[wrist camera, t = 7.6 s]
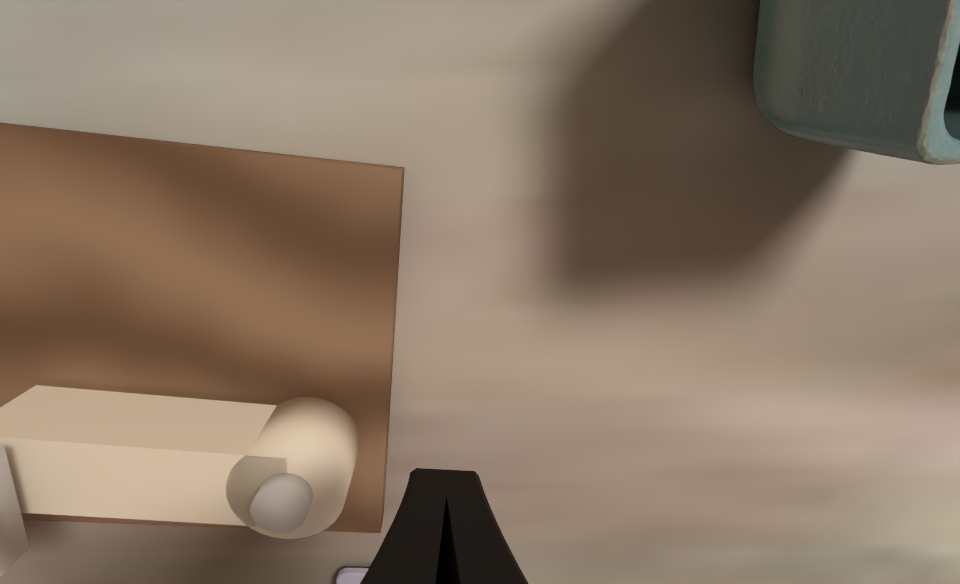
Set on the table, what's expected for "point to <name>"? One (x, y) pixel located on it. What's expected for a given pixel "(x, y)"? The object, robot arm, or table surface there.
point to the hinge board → (197, 286)
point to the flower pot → (863, 74)
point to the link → (180, 458)
